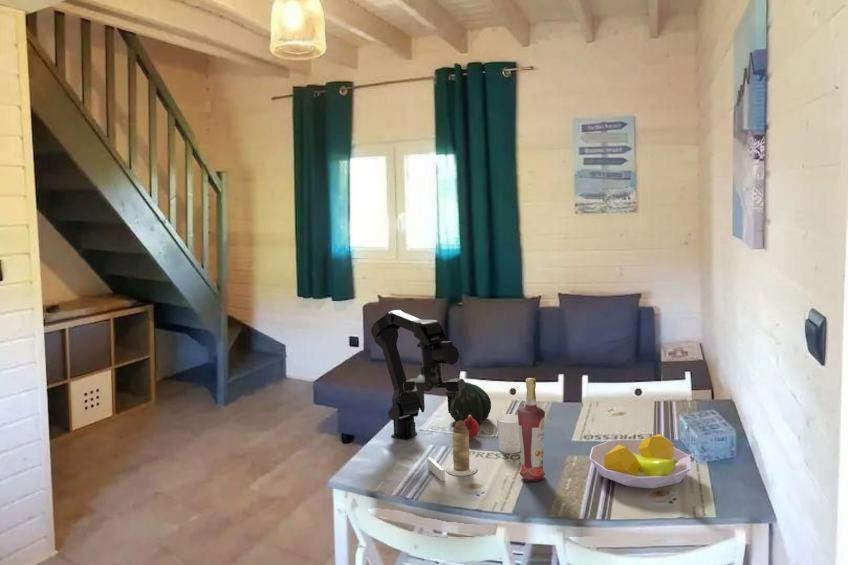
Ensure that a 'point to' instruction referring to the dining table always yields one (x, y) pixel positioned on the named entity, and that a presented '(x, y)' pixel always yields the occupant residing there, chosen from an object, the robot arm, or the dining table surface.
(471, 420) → the onion
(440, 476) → the divider wall
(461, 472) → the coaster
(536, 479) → the liquor
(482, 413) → the squash
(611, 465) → the fruit bowl
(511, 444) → the white cup
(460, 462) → the pepper mill
